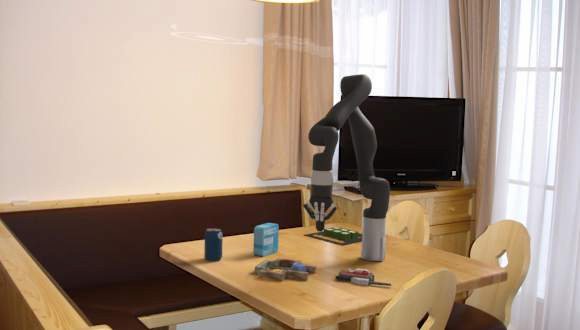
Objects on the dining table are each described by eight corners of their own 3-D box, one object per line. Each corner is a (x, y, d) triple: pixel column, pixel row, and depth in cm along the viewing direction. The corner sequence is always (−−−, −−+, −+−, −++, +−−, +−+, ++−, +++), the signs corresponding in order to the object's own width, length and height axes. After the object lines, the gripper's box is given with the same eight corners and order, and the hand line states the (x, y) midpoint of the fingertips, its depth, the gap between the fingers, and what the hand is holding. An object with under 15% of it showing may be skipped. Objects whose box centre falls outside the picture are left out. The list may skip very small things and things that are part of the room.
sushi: (303, 236, 281) (303, 229, 281) (338, 230, 298) (339, 223, 298) (342, 247, 263) (342, 238, 263) (378, 239, 280) (378, 231, 280)
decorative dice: (290, 274, 216) (291, 264, 216) (297, 272, 219) (298, 262, 219) (299, 277, 214) (299, 266, 213) (306, 275, 216) (306, 264, 216)
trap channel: (319, 269, 224) (319, 262, 224) (302, 284, 205) (303, 276, 205) (270, 263, 231) (270, 256, 230) (249, 276, 212) (249, 269, 212)
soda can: (225, 259, 233) (226, 229, 232) (212, 262, 228) (212, 232, 227) (214, 256, 238) (214, 226, 237) (200, 259, 233) (201, 229, 232)
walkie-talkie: (333, 282, 209) (390, 289, 203) (334, 270, 209) (391, 277, 203) (338, 276, 218) (393, 282, 212) (339, 264, 217) (394, 270, 211)
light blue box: (262, 257, 239) (263, 228, 238) (253, 255, 241) (253, 226, 240) (278, 251, 249) (279, 223, 248) (269, 250, 251) (270, 222, 250)
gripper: (342, 183, 212) (340, 230, 213) (307, 180, 216) (305, 227, 218) (337, 185, 205) (335, 235, 206) (300, 182, 209) (298, 231, 211)
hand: (319, 230), depth 212 cm, fingers closed
